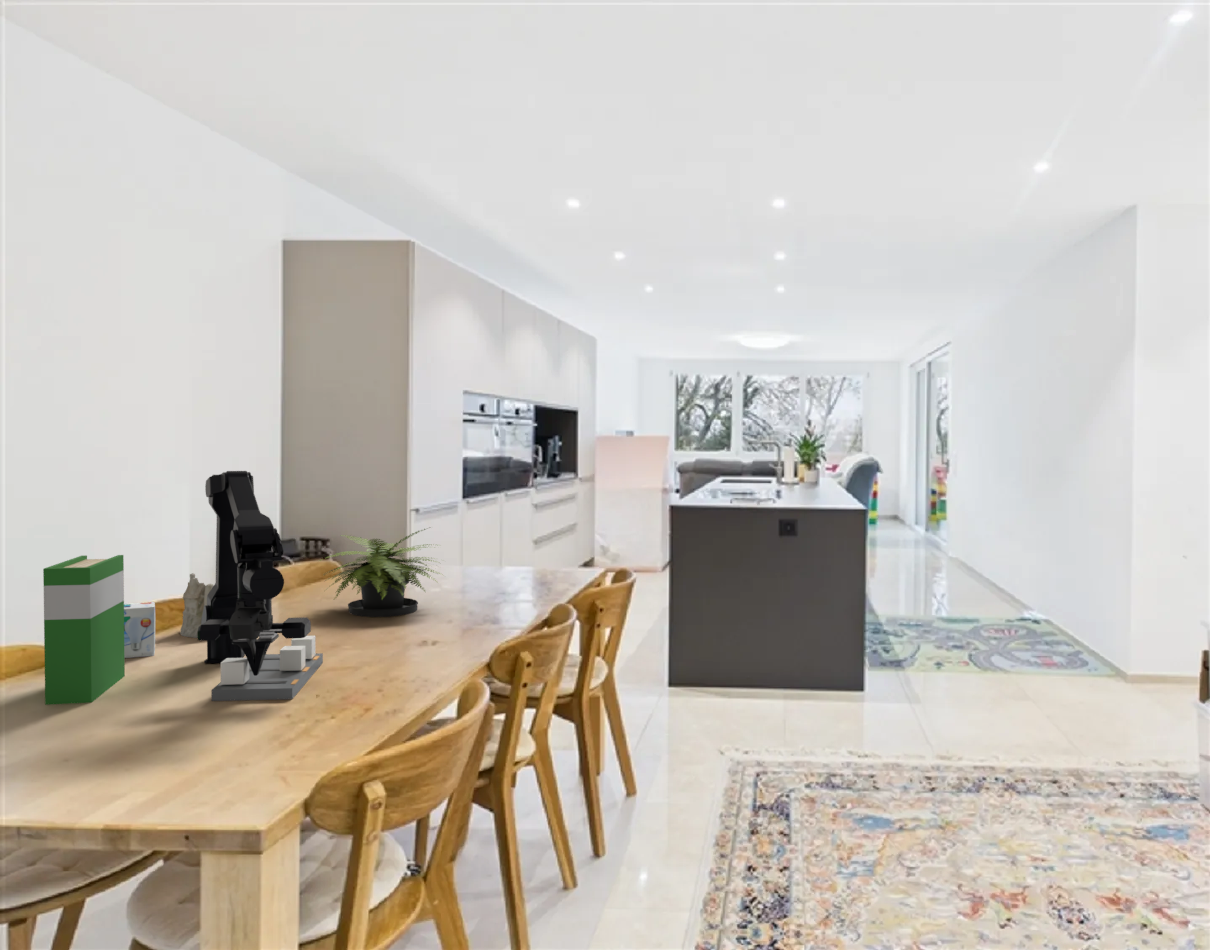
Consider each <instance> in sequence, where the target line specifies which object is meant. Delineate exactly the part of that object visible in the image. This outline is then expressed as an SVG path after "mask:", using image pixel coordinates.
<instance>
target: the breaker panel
mask: <svg viewBox="0 0 1210 950" xmlns="http://www.w3.org/2000/svg"><path fill="white" fill-rule="evenodd" d="M323 655H324V654H323V652H322V653H321V652H320V653H316V652H315V656H314V657H313V658H312V659H305V667H304V668H303V669H302V670H297V671H280V653H268V654H267V653H266V655H265V657H264V660H263V663H262V666H261V669H260V671H259V674H258V675H257V676H254V675H253V672H252V670H251V667H250V665H249V680H248V681H247V682H245V683H244V684H227V685H221V681H220V682H219V683H217V685H215V686H214V687H213V688H212V689H210V690H211V702H222V701H226V702H227V701H228V702H229V701H265V700H266V701H267V700H268V701H269V700H272V701H273V700H293V699H294V698H295V697H296V696H297V694H298V693H299V692H300V691H301V689H302V688H303V687H304V686H305V685H306V684H307V682H308V681H309V680H310V679H311V677H312V676H313V675H314V674H315V673H316V672H317V670H318V669H319V668H320V667H321V666H322V664H323V663H324V662H323V661H324V659H323V658H324V657H323Z"/></svg>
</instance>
